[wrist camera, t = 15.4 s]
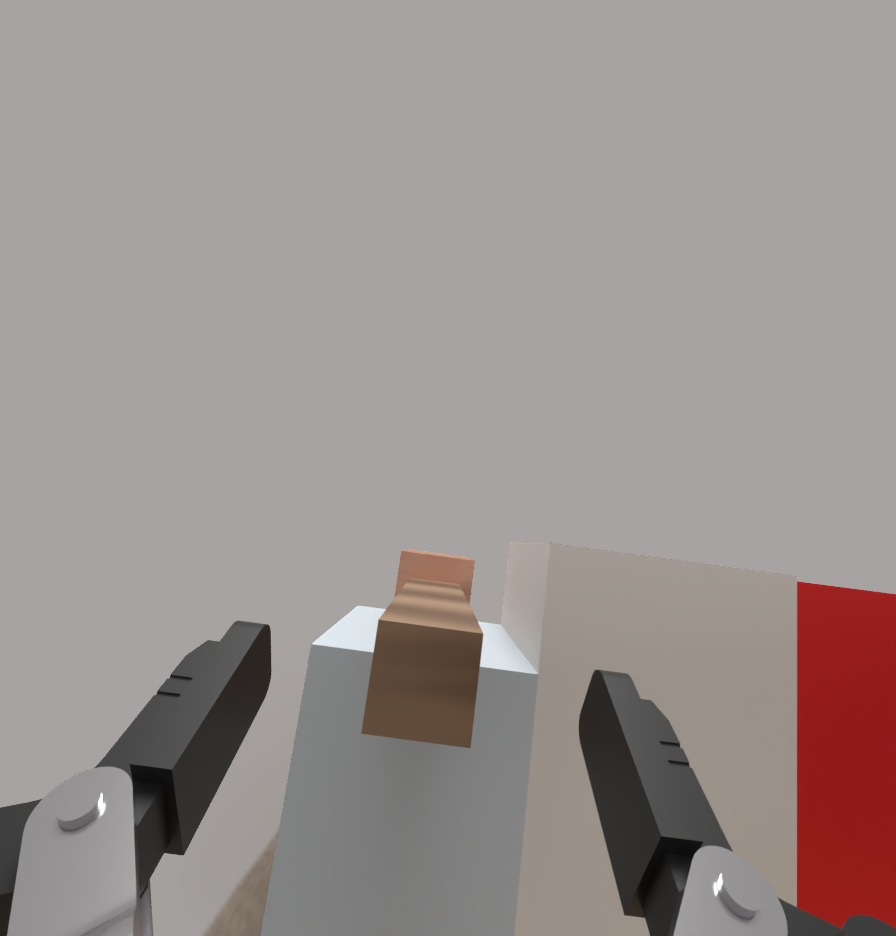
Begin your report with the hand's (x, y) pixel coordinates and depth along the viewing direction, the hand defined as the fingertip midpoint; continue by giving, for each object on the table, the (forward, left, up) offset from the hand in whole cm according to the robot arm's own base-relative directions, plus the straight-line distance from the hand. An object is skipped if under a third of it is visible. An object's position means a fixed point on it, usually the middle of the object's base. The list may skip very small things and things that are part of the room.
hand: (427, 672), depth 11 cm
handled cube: (-13, -13, -4) cm, 19 cm away
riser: (-23, -12, -28) cm, 38 cm away
